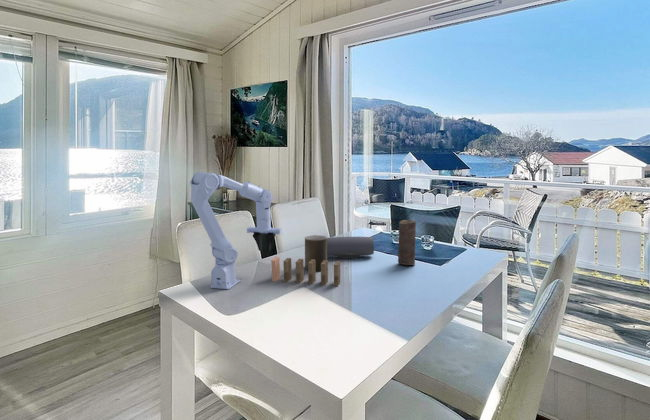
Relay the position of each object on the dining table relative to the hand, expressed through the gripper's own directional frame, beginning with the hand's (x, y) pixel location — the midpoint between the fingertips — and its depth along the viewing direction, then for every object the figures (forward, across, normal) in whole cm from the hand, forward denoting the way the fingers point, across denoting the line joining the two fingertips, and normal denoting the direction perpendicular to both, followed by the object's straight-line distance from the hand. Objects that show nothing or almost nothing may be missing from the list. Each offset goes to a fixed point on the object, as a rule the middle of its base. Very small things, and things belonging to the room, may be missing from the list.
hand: (264, 250), depth 156 cm
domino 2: (+10, -12, +6) cm, 17 cm away
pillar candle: (+10, -19, -11) cm, 24 cm away
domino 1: (+10, -7, +6) cm, 14 cm away
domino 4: (+10, -22, +6) cm, 25 cm away
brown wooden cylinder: (+10, -57, -24) cm, 63 cm away
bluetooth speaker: (+10, -30, -30) cm, 44 cm away
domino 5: (+10, -27, +6) cm, 29 cm away
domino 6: (+10, -32, +6) cm, 34 cm away
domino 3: (+10, -17, +6) cm, 21 cm away
